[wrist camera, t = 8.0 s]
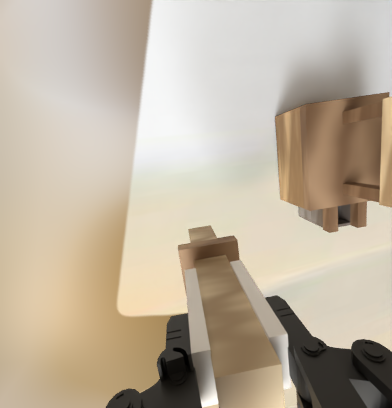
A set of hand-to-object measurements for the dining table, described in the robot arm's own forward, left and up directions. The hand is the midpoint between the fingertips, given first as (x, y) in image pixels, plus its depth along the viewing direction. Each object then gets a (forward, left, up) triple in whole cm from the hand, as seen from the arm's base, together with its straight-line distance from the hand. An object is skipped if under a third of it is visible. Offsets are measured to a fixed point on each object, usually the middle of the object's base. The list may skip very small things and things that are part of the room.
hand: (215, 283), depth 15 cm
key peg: (0, 0, -9) cm, 9 cm away
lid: (-23, -4, -19) cm, 30 cm away
